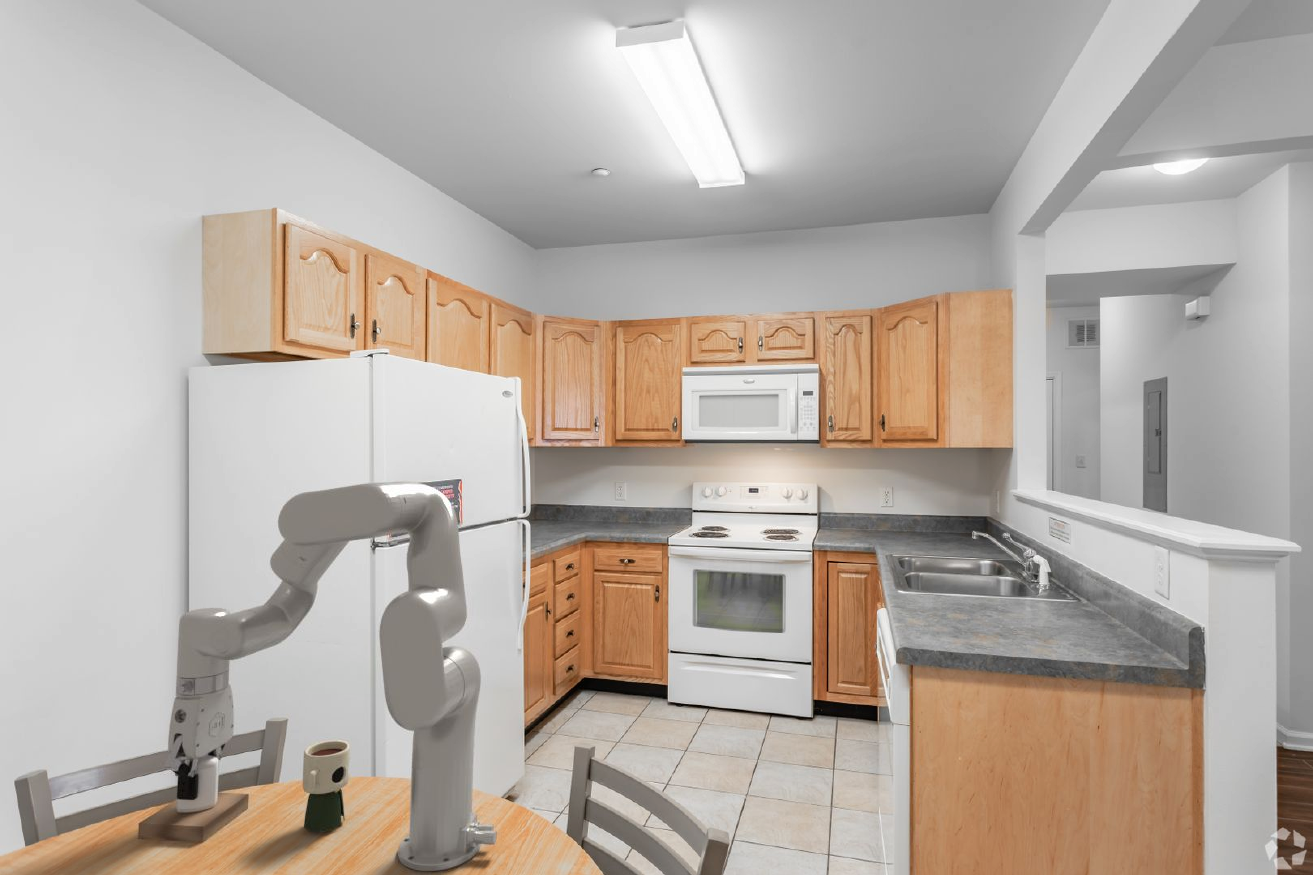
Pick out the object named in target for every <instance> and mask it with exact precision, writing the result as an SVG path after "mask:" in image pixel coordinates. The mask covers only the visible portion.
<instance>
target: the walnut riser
mask: <svg viewBox="0 0 1313 875" xmlns="http://www.w3.org/2000/svg"><path fill="white" fill-rule="evenodd" d="M249 796H250V794H249V793H234V792H219V791H218V798H217V802H216V804H215V806H214V807H212V808H209V809H206V810H202V811H197V812H190V813H179V812H178V811H177V798H176V799H174V800H173V801H171V802H170V803H169V804H167V805H165V806H164V807H162V808H161V809H159V810H158V811H155V812H154V813H152V814H151V815H149V816H148V817H146V818H145V819H143V820H141V821H140V822H139V823H138V828H137V829H138V831H137V836H138V837H137V839H138V840H150V841H167V842H169V841H170V842H187V843H205V841H207V840H208V839H210V838H211V837H212V836H213V835H215V834H216V833H217V832H219V831H220V830H221V829H223V828H224V827H225V826H227V825H228V824H229V823H231V822H232V821H233V820H235V819H236V818H237V817H239V816H240V815H241V814H242V813H244V812H245V811H246V810H248V809H249Z"/></svg>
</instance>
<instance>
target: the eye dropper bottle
mask: <svg viewBox="0 0 1313 875" xmlns="http://www.w3.org/2000/svg"><path fill="white" fill-rule="evenodd" d="M185 764H187V765H188V766H189V764H190V760H185ZM219 770H220V760H218V758H217V757H214V756H210V755H208V754H206V755H204V756H202V757H200V758H198V763H197V769H196V773H195V774H199V778H198V797H197V798H196V799H195V800H179V799H177V798H176V799H177V811H178V812H179V813H190V812H197V811H202V810H206V809H209V808H212V807H214V806H215V804H216V802H217V798H218V792H219V775H218V774H220V772H219Z"/></svg>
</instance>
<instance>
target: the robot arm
mask: <svg viewBox="0 0 1313 875" xmlns="http://www.w3.org/2000/svg"><path fill="white" fill-rule="evenodd" d="M277 525H278V526H277V527H278V530H279V534H280V535H281V537H282V538H283V540H282V542H281V543H280V544H279V546H278V547H277V548H276V550H274V552H273V553H272V554H271V557H270V560H269V564H270V568H271V570H272V572H273V573H274V574H275V575H276V577H278V579H279V580H281V582H280V584H279V585H278V587H277V588H276V590H275V591H274V593H272V595H271V596H270V597H269V598H268V600H266V602H265V603H264V604H262V605H258V606H254V607H251V608H248V609H244V610H240V611H237V612H236V611H235V612H232V613H231V612H230V611H229V610H227V609H225V608H222V607H208V608H206V607H205V608H204V607H203V608H198V609H193V610H190V611H187V612H185V613H183V615H181V617H180V619H179V624H178V638H177V639H178V640H177V641H178V642H177V662H176V683H175V697H174V702H173V705H172V710H171V715H170V723H169V729H168V743H167V751H168V753H167V754H168V757H167V759H166V760H165V763H164V769H166V770H169V771H171V772H173V773H174V775H175V777H177V788H176V799H179V800H195V799H196V798H197V797H198V778H199V774H195V773H196V769H197V763H198V758H200V757H202V756H204V755H206V754H208V755H210V756H214V757H217V758H218V760H219V761H221V759H222V756H223V753H222V752H223V750H224V748H225V746H226V744H227V743H228V742H229V741H230V740H231V739H232V738H233V736H234V727H235V726H234V725H235V724H234V723H235V720H234V719H235V716H234V715H235V714H234V713H235V712H234V711H235V710H234V697H233V692H232V691H233V690H232V686H231V684H230V683H229V682H230V681H229V680H230V663H231V662H230V661H235V660H239V659H242V658H245V657H247V656H250V655H253V654H255V653H258V652H260V651H263V650H266V649H269V648H271V647H275V646H276V645H279V644H281V643H282V642H284V641H285V640H286V639H288V638H289V636H291V634H293V633H294V631H295V630H296V629H297V628H298V627H299V625H301V623H302V622H303V620H305V617H306V616H307V615H308V614H309V612H310V611H311V609H312V608H313V606H314V604H315V600H316V597H317V593H318V582H319V581H320V579H321V578H322V577H323V575H324V574H325V573H326V571H328V569H329V568H330V567H331V565H332V564H333V563H334V561H335V560H336V558H338V556H340V554H341V552H342V551H343V550H344V549H345V547H346V546H347V545H348V544H349V542H350V541H359V540H366V539H373V538H380V537H385V536H392V535H397V534H400V533H401V534H403V533H406V534H408V535H409V543H408V546H407V552H406V569H407V580H408V590H407V591H404V592H403V593H400V594H399V595H397V596H396V597H395V598H393V599H392V600H391V601H390V602H389V603H388V604H387V606H386V607H385V609H384V611H383V613H382V615H381V620H380V624H379V630H378V632H379V647H380V657H381V668H382V680H383V688H384V697H385V702H386V707H387V711H388V712H389V714H390V716H391V718H392V719H393V720H394V722H395V724H397V725H398V726H399V727H400V728H402V729H403V730H407V731H411V732H413V734H412V735H413V737H412V750H411V751H412V754H411V780H410V802H409V803H410V806H409V808H410V809H409V810H410V811H409V829H408V830H409V831H408V834H407V835H406V836H405V837H404V838H403V839H402V840H401V841H400V843H399V844H398V847H397V848H398V849H397V850H398V851H397V852H398V853H397V856H398V859H399V861H400V863H401V864H402V865H403V866H405V867H407V868H409V869H411V870H415V871H419V872H436V871H437V872H438V871H443V870H449V869H452V868H455V867H457V866H460V865H461V864H464V863H465V862H467V861H469V860H471V858H473V857H474V856H475V855H476V854H477V853H478V851H479V850H480V848H481V845H487V846H488V845H490V846H495V845H496V842H497V836H498V832H497V830H494V828H495V827H494V824H492V823H491V824H490V823H484V824H483V823H480V822H479V821H478V812H473V786H474V785H473V783H474V756H475V755H474V754H475V752H474V751H475V749H474V748H475V736H476V735H475V734H476V733H475V731H476V719H477V709H478V703H479V697H480V691H481V684H482V682H481V681H482V680H481V676H482V675H481V668H480V666H479V662H478V661H477V659H476V656H475V655H473V654H472V653H471V651H469V650H468V649H466V648H464V647H461V646H454V645H453V646H451V645H450V646H444V647H443V644H444V643H445V642H447V641H449V639H451V638H453V637H455V636H456V635H457V634H458V633H460V632H461V631H462V629H463V628H464V626H465V624H466V621H467V618H468V612H467V611H468V609H467V599H466V592H465V584H464V582H465V581H464V570H463V564H462V556H461V547H460V545H461V544H460V534H459V523H458V517H457V514H456V510H455V508H454V506H453V504H452V503H451V502H450V500H449V499H448V497H446V496H445V494H443V492H441V491H439V490H438V489H437V488H435V487H433V486H430V485H427V484H424V483H421V482H415V481H390V482H389V481H388V482H385V481H384V482H368V483H360V484H354V485H353V484H352V485H348V486H341V487H334V488H328V489H323V490H321V489H320V490H315V491H305V492H301V493H298V494H296V495H294V496H292V497H291V498H290V499H289V500H287V501H286V502H285V503H284V505H283V506H282V508H281V510H280V512H279V514H278V518H277ZM185 760H190V764H189V766H188V765H187V764H185ZM219 774H220V773H219ZM219 774H218V776H219Z"/></svg>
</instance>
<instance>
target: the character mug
mask: <svg viewBox="0 0 1313 875" xmlns="http://www.w3.org/2000/svg"><path fill="white" fill-rule="evenodd" d="M350 760H351V745H350V744H349V742H347V741H345V740H340V739H339V740H335V739H334V740H326V741H321V742H320V741H319V742H317V743H314V744H312V745H310V746H308V747H306V748H305V750H304V751H303V766H302V767H303V768H302V790H303V791H304V793H307V794H309V795H308V798H307V803H306V807H305V808H306V809H305V814H304V820H303V822H304V823H303V828H304V829H305V830H307V831H313V832H322V833H323V832H329V831H332V830H334V829H336V828H338V827H340V826H341V825H342V818H343V822H345V821H346V820H345V808H344V807H345V805H344V797H343V790H342V788H345V787H346V786H347V785H348V783H349V779H350V773H349V765H350Z"/></svg>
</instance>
